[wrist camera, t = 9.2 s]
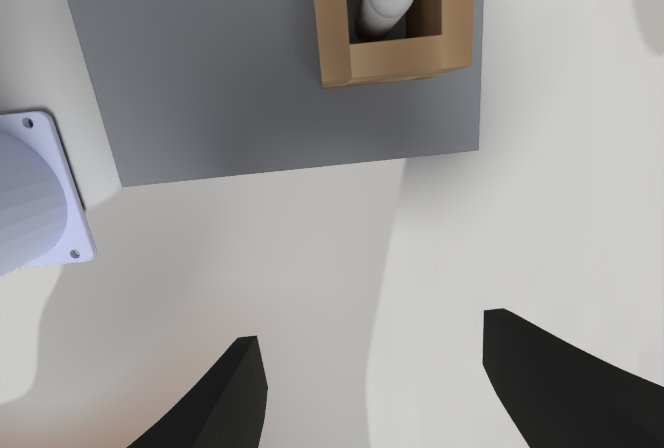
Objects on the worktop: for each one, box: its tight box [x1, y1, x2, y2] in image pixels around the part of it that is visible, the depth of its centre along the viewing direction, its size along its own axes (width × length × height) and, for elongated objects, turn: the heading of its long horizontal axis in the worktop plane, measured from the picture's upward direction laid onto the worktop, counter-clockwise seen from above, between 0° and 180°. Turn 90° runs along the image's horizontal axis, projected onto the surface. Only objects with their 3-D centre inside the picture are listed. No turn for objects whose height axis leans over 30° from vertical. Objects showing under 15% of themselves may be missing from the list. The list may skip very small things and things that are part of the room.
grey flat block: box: [68, 0, 483, 187], centre depth 14 cm, size 18×12×7 cm, turn 96°
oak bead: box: [314, 0, 474, 90], centre depth 13 cm, size 5×5×5 cm
